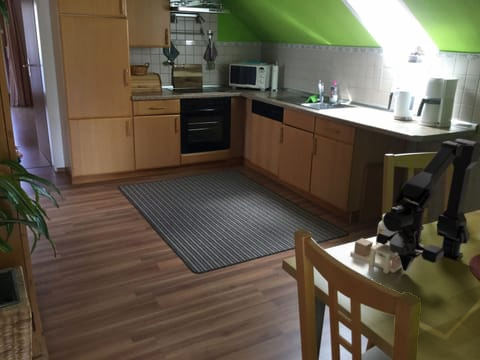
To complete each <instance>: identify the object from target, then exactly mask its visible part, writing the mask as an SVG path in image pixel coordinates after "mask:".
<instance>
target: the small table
mask: <svg viewBox="0 0 480 360" xmlns="http://www.w3.org/2000/svg"><path fill="white" fill-rule="evenodd" d="M389 242H390V241H388V243H386V244H385V245H384V244H381V243H378V244H376V243H375V245H372V247H371V252H370V260H369V262H368V267H369V268H370V267H371V268H374V267H375V265H374V264H375V256H376V254H377V253H379V254H381V256H382V257H384V258H385V263H384V268H383V271H382V272H383V273H385V274H388V273H390V271H389V267H390V260H392V259H391V258H392V256H393V255H395V254H396V256H397V255H398V253H395V252H391V251H390V243H389Z"/></svg>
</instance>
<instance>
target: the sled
mask: <svg viewBox="0 0 480 360" xmlns="http://www.w3.org/2000/svg"><path fill="white" fill-rule="evenodd" d="M373 245H374V244H373V241H371V240H368V239H365V238H363V237H361V238H360V239H358V240H356V241H355V242H354V248H353V249H354V250H351V251H350V256H351V257H352V256H353V257H355V258H358V259H359V260H362V261H364V262H367V263H369V260H370V252H371V247H373ZM384 263H385V258H384V257H382V255H380V254H377V253H376V256H375V264H374V266H377V267H379V268H381V269H384ZM401 268H402V264H401V260H400V257H399V254H398V255H397V254H396V255H395V256H393V257H392V259H391V260H390V267H389V272H391V273H395V272H397V271H398V270H400V269H401Z"/></svg>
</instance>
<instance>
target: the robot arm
mask: <svg viewBox="0 0 480 360" xmlns="http://www.w3.org/2000/svg"><path fill="white" fill-rule="evenodd" d="M479 159H480V142H478V141H473V140H468V139H463V138H456V139H455V140H447V141H443V142H442V143H441V145H440V148H439V150H438V151H437V153H436V154H435V155H434V156H433V157H432V159H431V160H430V161H429V163H428V164H427V165H426V166H425V167H424V168H423V169H422V171H421V172H420V173H418V174H416V175H413V176H411V178H409V179H408V180H407V181H406V182H405V183H404V184H403V185H402V187H401V189H400V190H399V193H398V195H397V196H396V198H395V200H394V202H393V203H394V205H397V206H393V207H391V208H390V211H388V212H385V213H384V214H385V216H384V218H383V220H382V221H383V222H384V225H385V227H386V228H387V229H388V230H387V229H386V230H384V231H382V232H380V233H379V234H377V233H376V238H375V239H376V240H375V241H376V242H378V243H381V244H384V245H385V244H386V243H388V241H390V242H389V243H390V251H391V252H395V254H397V253H398V254H399V257H400V260H401V264H402V267H401V268H402V270H403V272H407V271H408V270H409V268H410V266H411V265H412V263H413V262H414V260H415V259H417V258H418V257H420V256H421V258H422V259H423V261H424V260H425V261H426V262H429V263H432V264H433V263H437V262H438V261H440V260H441V259H442V258H447V259H450V260H451V261H457V260H459V259H460V258H461V257H462V256H463V255H464V253H463V252H461V246H462V244H466V245H467V244H468V242H469V241H470V237H471V233H470V232H469V230H468V227H467V223H468V222H467V221H468V220H467V217H466V215H465V213H464V208H465V207H464V206H465V201H466V196H467V191H468V186H469V179H470V176H471V175H470V174H471V170H472V168H473V167H474V166H475V165H476V164H477V163H478V162H479ZM450 165H452V167H453V168H452V175H451V181H450V187H449V193H448V198H447V204H446V208H445V210H444V211H443V212H442V213H441V214H439V215H438V216H437V222H436V235H437V236H438V237H439V236H440V237H442V241H441V247H439V246H438V245H433V244H429V245H427V246H424V245H423V244H421V243H422V242H423V240H422V238H421V235H422V231H423V230H424V225H423V224H424V218H425V210H426V209H428V208H429V207H430V205H429V204H428V203H429V202H430V201H431V199H432V197H433V195H434V194H435V185H436V183H437V182H438V181H439V179H440V178H441V177H442V176H443V174H444V173H445V172H446V171H447V169H448V168H449V167H450ZM396 231H398V232H397V233H396ZM376 242H375V243H376Z"/></svg>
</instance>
